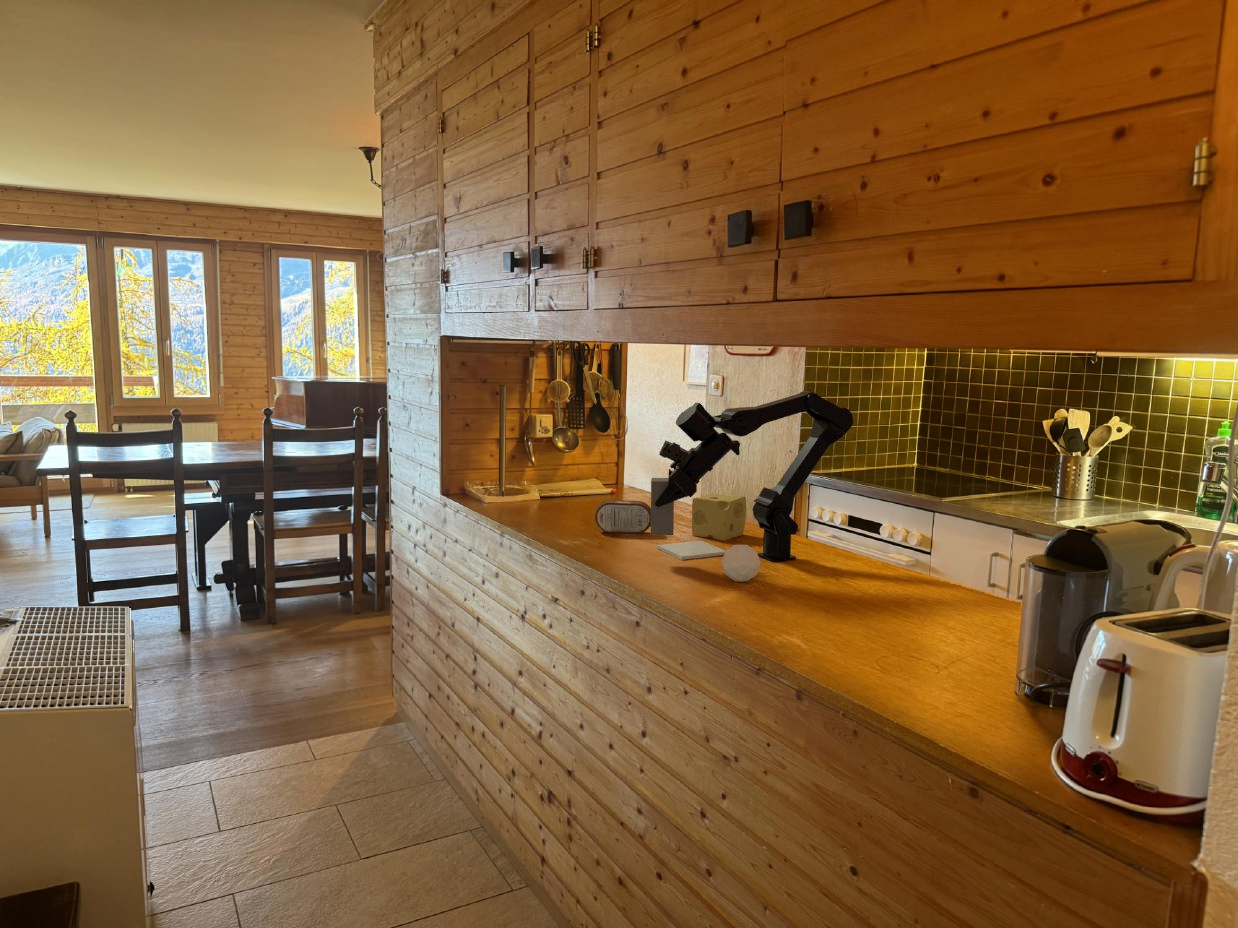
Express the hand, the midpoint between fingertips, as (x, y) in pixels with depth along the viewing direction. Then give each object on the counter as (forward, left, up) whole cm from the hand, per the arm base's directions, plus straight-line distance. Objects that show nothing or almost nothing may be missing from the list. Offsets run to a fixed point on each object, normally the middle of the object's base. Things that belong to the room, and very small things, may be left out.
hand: (656, 503), depth 194 cm
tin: (+30, -6, -14) cm, 34 cm away
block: (-1, -1, -7) cm, 7 cm away
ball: (-21, -9, -14) cm, 26 cm away
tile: (+5, -12, -13) cm, 19 cm away
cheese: (+18, -27, -14) cm, 36 cm away
